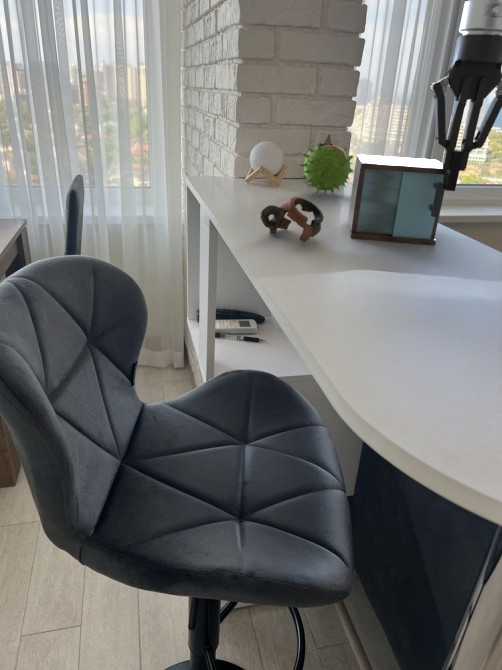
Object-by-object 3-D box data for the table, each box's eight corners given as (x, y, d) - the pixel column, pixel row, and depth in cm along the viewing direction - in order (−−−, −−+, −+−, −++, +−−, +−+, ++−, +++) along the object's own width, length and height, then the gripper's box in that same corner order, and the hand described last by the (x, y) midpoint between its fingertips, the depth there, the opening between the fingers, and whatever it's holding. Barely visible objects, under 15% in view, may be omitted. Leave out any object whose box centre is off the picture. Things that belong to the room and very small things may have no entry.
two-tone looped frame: (295, 229, 104) (317, 197, 99) (311, 261, 99) (335, 230, 93) (246, 218, 97) (266, 183, 92) (260, 251, 92) (282, 217, 87)
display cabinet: (422, 227, 109) (436, 159, 103) (435, 245, 97) (451, 169, 90) (347, 221, 110) (356, 154, 104) (350, 238, 98) (361, 163, 92)
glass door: (429, 239, 97) (444, 172, 92) (434, 245, 93) (449, 176, 88) (392, 236, 98) (403, 169, 93) (395, 242, 94) (407, 173, 89)
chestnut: (281, 158, 132) (307, 141, 142) (300, 209, 138) (323, 189, 148) (332, 141, 123) (355, 124, 133) (349, 196, 128) (371, 177, 138)
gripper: (445, 30, 76) (414, 190, 87) (535, 35, 75) (493, 196, 85) (435, 35, 83) (408, 183, 93) (517, 39, 82) (480, 188, 92)
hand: (448, 189), depth 89 cm, fingers closed
